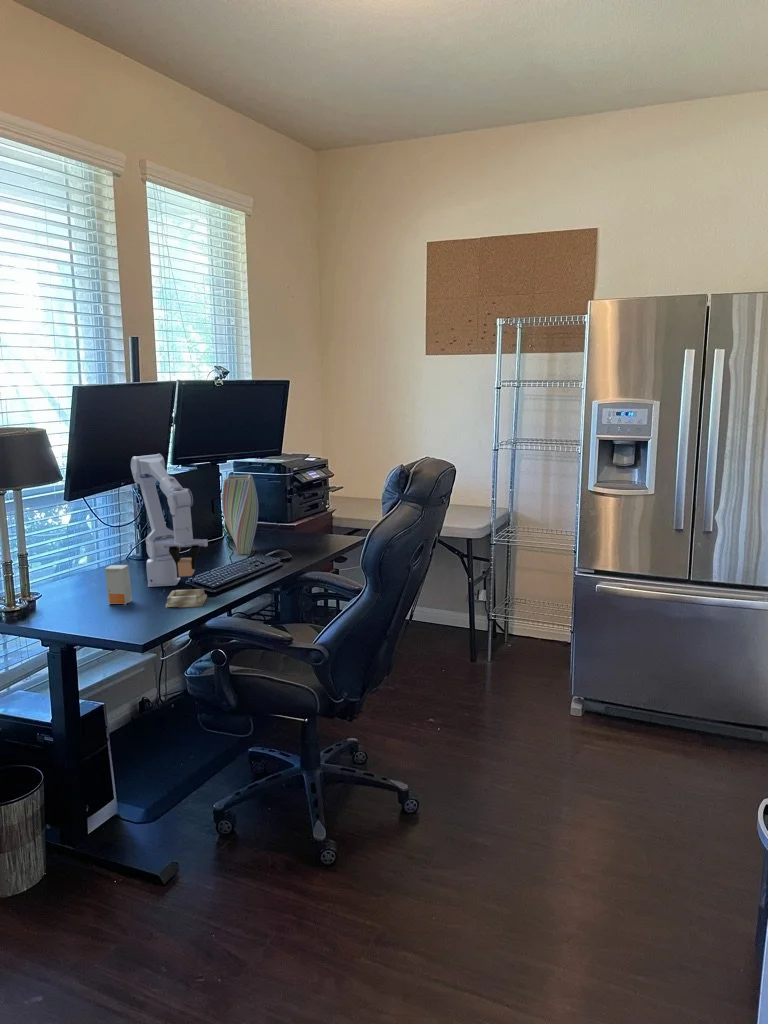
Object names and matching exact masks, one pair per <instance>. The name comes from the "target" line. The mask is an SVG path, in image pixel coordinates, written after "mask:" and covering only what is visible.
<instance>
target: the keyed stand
mask: <svg viewBox="0 0 768 1024" xmlns="http://www.w3.org/2000/svg"><path fill="white" fill-rule="evenodd" d="M207 598H208V595H207V593H205V588H194V589H193V588H191V589H175V590H172V591H171V592H170V593H169V595H168V596H167V598H166V600H167V601H166V603H165V609H168V608H167V607H178V608H190V607H191V608H194V607H195V608H196V607H203V605H204V604H205V601H206V600H207Z"/></svg>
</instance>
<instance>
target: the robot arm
mask: <svg viewBox="0 0 768 1024" xmlns="http://www.w3.org/2000/svg"><path fill="white" fill-rule="evenodd" d="M165 466H166V462H165V458H164V456H163V455H162V454H161V453H157V454H148V455H140V456H135V455H134V456H132V458H131V460H130V469H131V475H132V477H133V481H134V483H136V484H138V485H139V486H140V490H141V494H142V497H143V502H144V506H145V509H146V513H147V517H148V521H149V522H148V523H149V526H150V529H151V531H150V532H149V534H148V535H147V536H146V537H145V544H146V546H145V547H146V553H147V556H148V557H149V558H148V559H147V560H146V579H147V587H148V588H150V587H151V588H153V587H169V586H171V587H173V586H177V585H178V583H179V582H180V581H181V577H178V562H179V560H180V559H181V556H180V553H181V548H189V551H190V558H191V559H192V569H195V570H196V563H197V557H198V555H199V552H200V548H201V547H208V545H209V543H208V539H207V538H205V539H204V538H203V539H201V538H194V536H193V535H194V534H193V523H192V522H193V521H192V513H191V510H192V509H191V507H193V504H194V498H193V494H192V491H191V490H190V488H186V487H184V488H183V486H182V485H181V484H180V483H179V481H178V480H177V478H175V477H174V476H171V475H169V473H168V472H167V470H166V467H165ZM157 482H159V489H160V490H161V492H162V493H163V494H164V495H165V497H166V498H167V504H168V508H169V512H170V515H171V518H172V526H173V530H171V529H170V528H168V527H167V524H166V520H165V517H164V512H163V509H162V505H161V502H160V497H159V493H158V490H157V486H156V483H157Z"/></svg>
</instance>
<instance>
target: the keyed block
mask: <svg viewBox="0 0 768 1024" xmlns="http://www.w3.org/2000/svg"><path fill="white" fill-rule="evenodd" d="M195 570H196V568H195V569H192V559H191V557H180V560H179V562H178V570H177V574H178V578H181V577H192V576H193V574H194V573H195Z"/></svg>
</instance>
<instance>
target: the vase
mask: <svg viewBox="0 0 768 1024" xmlns="http://www.w3.org/2000/svg"><path fill="white" fill-rule="evenodd" d="M221 494H222V495H221V497H222V498H221V506H222V514H223V517H224V521H225V524H226V526H227V529H228V532H229V533H230V536H231V538H232V540H233V543H234V545H235V547H236V553H237V554H236V555H250V554H251V550H252V547H253V542H254V539H255V535H256V532H257V531H256V530H257V525H258V520H259V500H258V493H257V488H256V483H255V481H254V477H253V475H252V474H241V475H239V474H238V475H227V476H226V477H225V478H224V480H223V486H222V493H221Z"/></svg>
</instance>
